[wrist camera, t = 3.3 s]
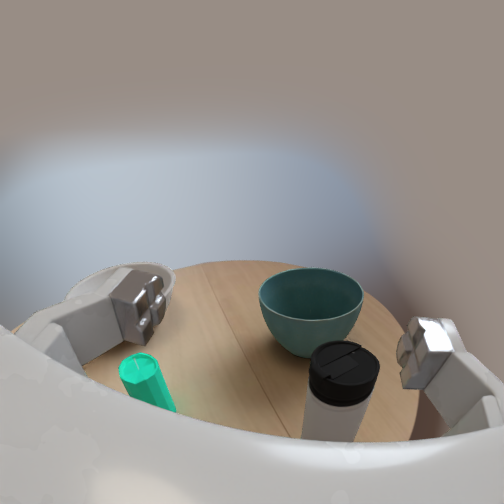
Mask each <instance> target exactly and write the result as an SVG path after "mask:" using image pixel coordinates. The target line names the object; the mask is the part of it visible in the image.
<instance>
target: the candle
mask: <svg viewBox="0 0 504 504" xmlns="http://www.w3.org/2000/svg"><path fill="white" fill-rule="evenodd" d="M118 369H119V375H120V378H121V380H122V382H123V384H124V386H125V388H126V390H127V392H128V394H129V396H130V397H133V398H135V399H138V400H141V401H143V402H146V403H149V404H151V405H154V406H157V407H160V408H163V409H166V410H169V411H172V412H175V413H176V408H175V405H174V402H173V400H172V398H171V395H170V393H169V390H168V388H167V385H166V383H165V380H164V378H163V375H162V372H161V370H160V367H159V364H158V362H157V360H156V359H155V358H154V357H152V356H151V355H149V354H145V353H141V352H140V353H137V354H134V355H131V356H129V357H127V358H126V359H124V360H123V361H122V362H121V364H120V366H119V368H118Z"/></svg>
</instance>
